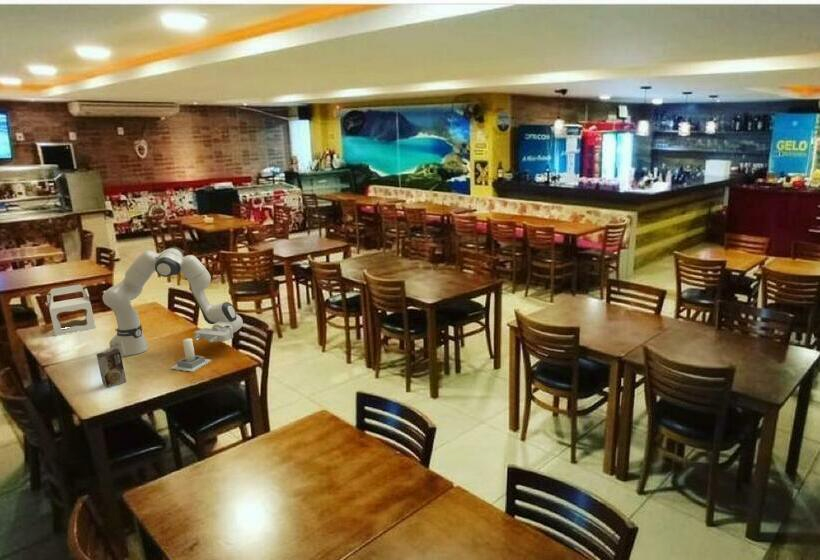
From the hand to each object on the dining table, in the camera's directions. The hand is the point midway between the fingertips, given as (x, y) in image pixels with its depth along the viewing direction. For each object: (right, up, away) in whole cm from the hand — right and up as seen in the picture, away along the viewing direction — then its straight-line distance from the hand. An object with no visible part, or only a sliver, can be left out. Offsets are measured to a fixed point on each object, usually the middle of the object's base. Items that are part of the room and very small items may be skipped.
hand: (202, 340), depth 292 cm
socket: (-3, -12, -6) cm, 14 cm away
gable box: (-101, 0, +56) cm, 115 cm away
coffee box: (-34, -19, -23) cm, 45 cm away
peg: (-3, -11, -6) cm, 13 cm away
